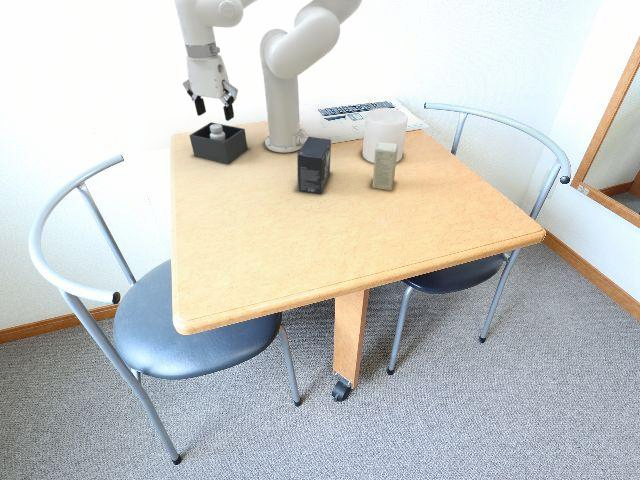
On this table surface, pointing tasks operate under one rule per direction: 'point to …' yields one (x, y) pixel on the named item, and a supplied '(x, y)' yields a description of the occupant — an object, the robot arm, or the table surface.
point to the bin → (219, 144)
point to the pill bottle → (217, 132)
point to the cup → (384, 130)
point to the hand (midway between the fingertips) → (215, 116)
